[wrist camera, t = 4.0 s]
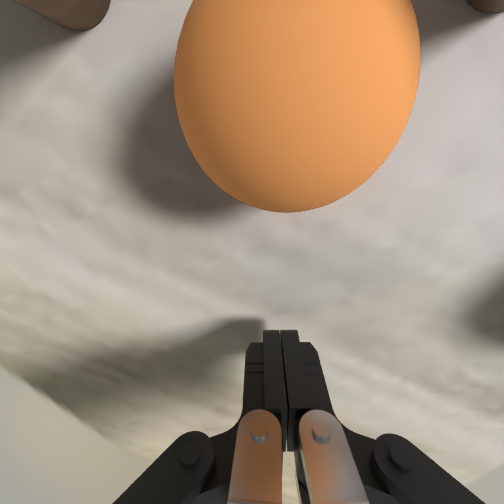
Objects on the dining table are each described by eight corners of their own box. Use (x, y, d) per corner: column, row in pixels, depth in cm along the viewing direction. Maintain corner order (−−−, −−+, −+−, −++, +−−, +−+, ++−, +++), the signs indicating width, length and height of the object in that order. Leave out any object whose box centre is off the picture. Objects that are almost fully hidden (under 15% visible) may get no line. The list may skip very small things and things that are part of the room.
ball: (67, -44, 3) (188, 256, 7) (614, -76, 3) (391, 253, 7) (169, -79, 6) (209, 143, 10) (414, -93, 6) (348, 139, 10)
